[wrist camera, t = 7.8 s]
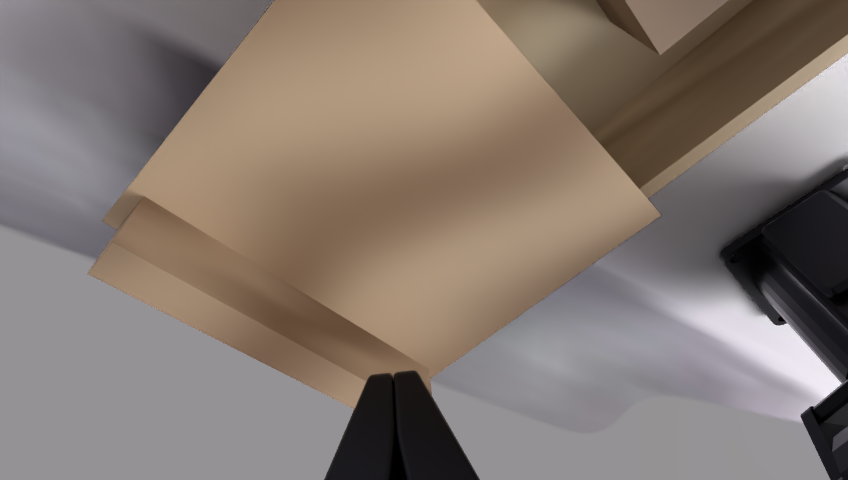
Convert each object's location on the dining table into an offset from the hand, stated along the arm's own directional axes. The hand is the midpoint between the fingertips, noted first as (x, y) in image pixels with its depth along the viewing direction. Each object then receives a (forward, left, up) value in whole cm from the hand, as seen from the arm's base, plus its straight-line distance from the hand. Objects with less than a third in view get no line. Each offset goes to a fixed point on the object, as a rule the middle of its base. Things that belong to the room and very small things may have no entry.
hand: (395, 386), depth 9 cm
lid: (0, 0, -7) cm, 7 cm away
